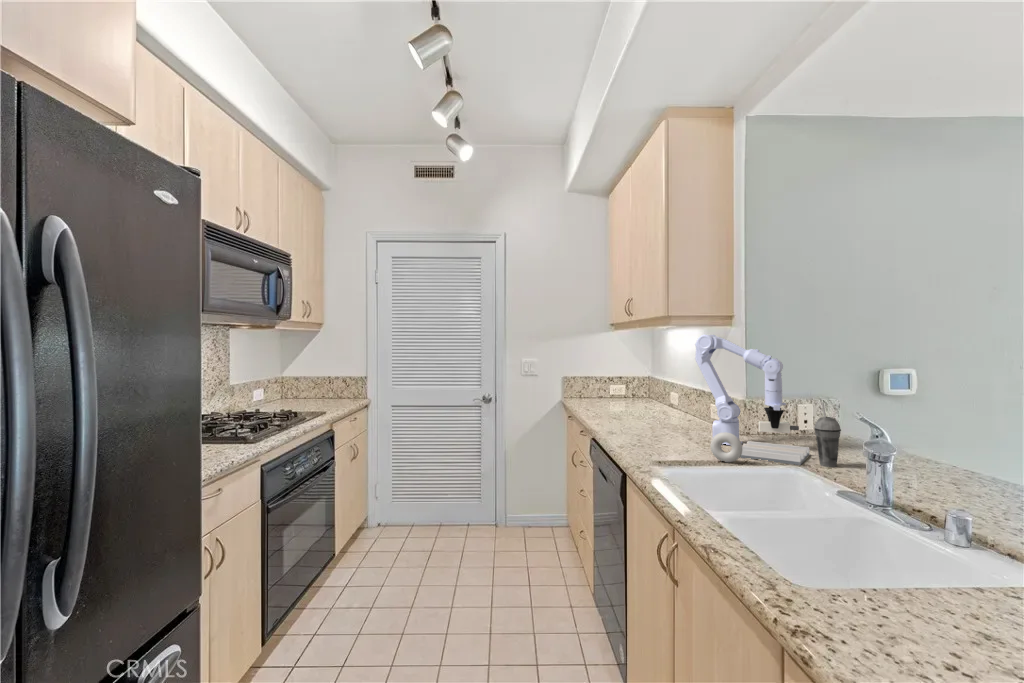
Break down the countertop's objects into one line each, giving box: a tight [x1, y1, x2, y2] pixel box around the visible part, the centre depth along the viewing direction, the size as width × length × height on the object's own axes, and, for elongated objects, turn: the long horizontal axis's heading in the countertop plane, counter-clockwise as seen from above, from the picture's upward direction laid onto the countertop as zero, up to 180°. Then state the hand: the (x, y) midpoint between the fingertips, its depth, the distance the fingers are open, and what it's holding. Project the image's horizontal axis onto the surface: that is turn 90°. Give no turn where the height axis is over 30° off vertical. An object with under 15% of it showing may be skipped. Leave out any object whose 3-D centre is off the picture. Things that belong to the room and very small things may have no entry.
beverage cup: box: [813, 402, 842, 468], centre depth 156 cm, size 7×7×20 cm
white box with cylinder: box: [758, 420, 800, 434], centre depth 182 cm, size 13×3×4 cm, turn 70°
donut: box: [709, 432, 743, 463], centre depth 163 cm, size 10×4×10 cm, turn 55°
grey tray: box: [740, 440, 811, 466], centre depth 170 cm, size 20×18×3 cm
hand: (774, 427), depth 182 cm, fingers closed on white box with cylinder, 3 cm apart
